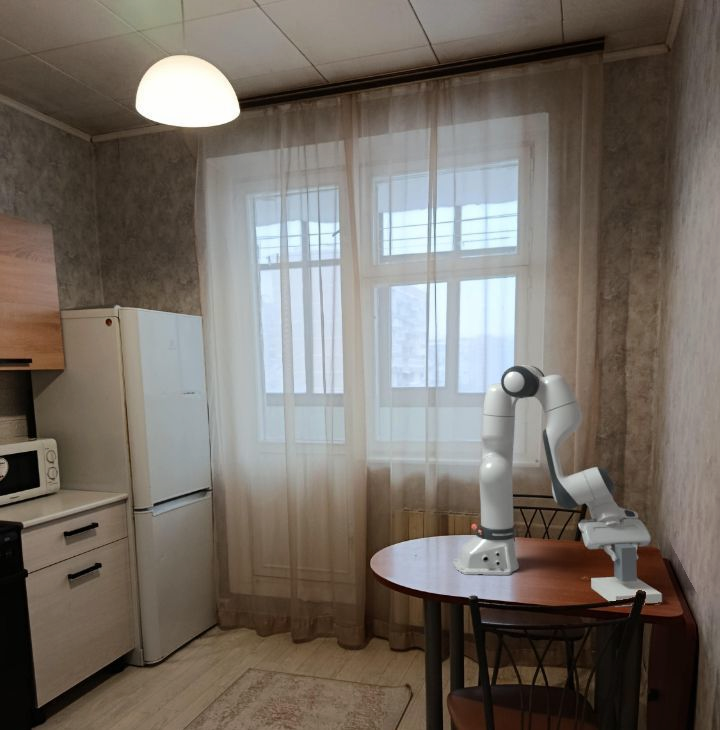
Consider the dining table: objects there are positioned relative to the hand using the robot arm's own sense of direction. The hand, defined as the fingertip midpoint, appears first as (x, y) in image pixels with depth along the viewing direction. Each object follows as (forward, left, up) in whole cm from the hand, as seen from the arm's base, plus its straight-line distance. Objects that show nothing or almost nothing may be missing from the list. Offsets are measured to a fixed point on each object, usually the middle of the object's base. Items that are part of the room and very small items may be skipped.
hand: (626, 559), depth 167 cm
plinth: (0, +1, -11) cm, 11 cm away
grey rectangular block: (0, +1, -6) cm, 6 cm away
